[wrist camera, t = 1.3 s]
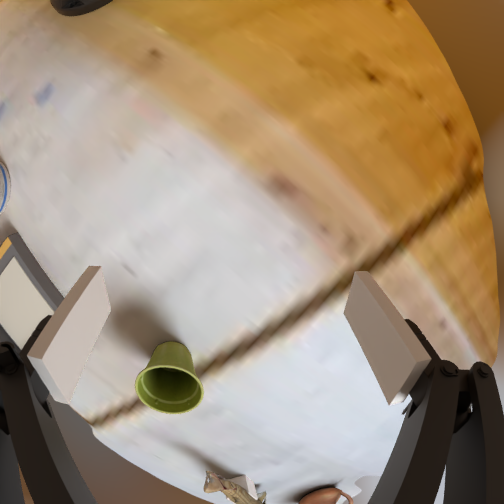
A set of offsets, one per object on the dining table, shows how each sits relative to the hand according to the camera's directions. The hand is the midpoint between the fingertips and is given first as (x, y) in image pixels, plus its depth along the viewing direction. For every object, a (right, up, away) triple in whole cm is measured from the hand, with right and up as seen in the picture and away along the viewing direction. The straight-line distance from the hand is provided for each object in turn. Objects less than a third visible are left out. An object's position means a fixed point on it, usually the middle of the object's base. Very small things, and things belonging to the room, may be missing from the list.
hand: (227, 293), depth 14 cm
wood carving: (-3, -55, +40) cm, 69 cm away
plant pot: (-11, -14, +28) cm, 33 cm away
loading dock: (-37, -7, +21) cm, 43 cm away
